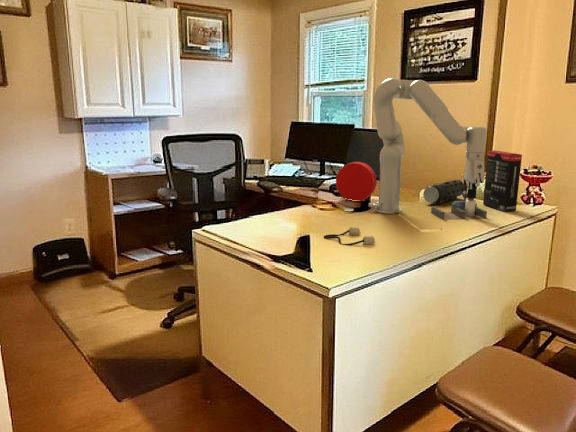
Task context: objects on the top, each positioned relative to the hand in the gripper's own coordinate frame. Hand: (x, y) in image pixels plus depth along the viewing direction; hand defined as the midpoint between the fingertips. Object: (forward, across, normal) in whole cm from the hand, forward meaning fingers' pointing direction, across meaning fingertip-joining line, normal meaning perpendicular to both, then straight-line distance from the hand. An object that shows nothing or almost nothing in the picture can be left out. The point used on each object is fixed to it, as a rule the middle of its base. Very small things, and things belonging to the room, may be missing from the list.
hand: (471, 198), depth 209 cm
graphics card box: (+9, +18, -23) cm, 31 cm away
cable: (+10, -30, +60) cm, 68 cm away
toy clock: (+9, +41, +42) cm, 60 cm away
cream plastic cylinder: (+8, 0, 0) cm, 8 cm away
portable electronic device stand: (+9, +17, -7) cm, 21 cm away
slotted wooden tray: (+9, +1, +5) cm, 10 cm away
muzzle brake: (+9, +36, -3) cm, 37 cm away
